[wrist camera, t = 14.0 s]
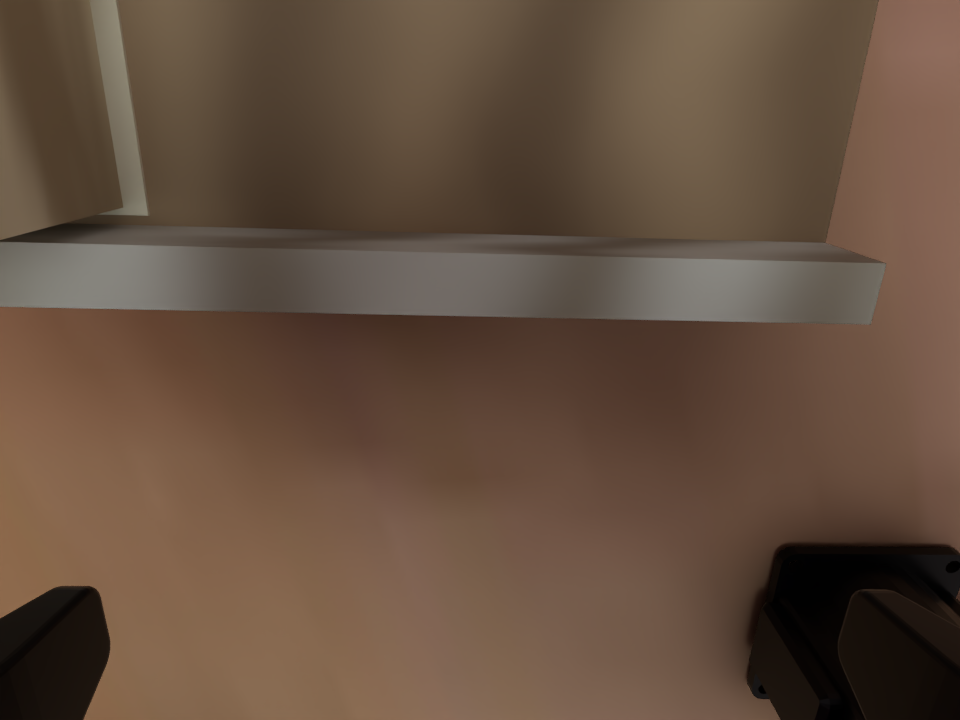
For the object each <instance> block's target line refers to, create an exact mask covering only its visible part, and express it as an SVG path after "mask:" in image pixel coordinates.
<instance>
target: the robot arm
mask: <svg viewBox="0 0 960 720" xmlns="http://www.w3.org/2000/svg"><path fill="white" fill-rule="evenodd" d="M794 560H796V562H794V563H793V564H790V562H792V561H794ZM789 564H790V565H789ZM959 588H960V553H959V552H958V551H957V550H955V549H954V548H949V547H801V546H792V547H787V548H785V549H783V550H781V551H780V552H779V553H778V554H777V557H776V559H775V563H774V568H773V572H772V576H771V580H770V585H769V589H768V593H767V598H766V602H765V604H764V605H763V607H762V608H761V611H760V616H759V620H758V624H757V629H756V633H755V637H754V642H753V646H752V650H751V655H750V663H751V666H750V670H749V675H748V679H747V684H748V686H749V688H750V690H751V692H752V694H753V695H754V696H755V697H757V698H760V699H770V701H771V703H772V704H773V706H774V708H775V710H776V712H777V714H778V716H779V717H780V719H781V720H960V602H959V601H958V600H957V599H956V596H957V594H958V591H959ZM109 653H110V637H109V633H108V628H107V624H106V619H105V615H104V610H103V606H102V601H101V597H100V594H99V592H98V591H97V590H96V589H95V588H93V587H90V586H60V587H56V588H53V589H51V590H49V591H48V592H46V593H44V594H42V595H41V596H39V597H37V598H35V599H34V600H32V601H30V602H28V603H27V604H25V605H23V606H21V607H20V608H18V609H16V610H14V611H13V612H11V613H9V614H7V615H6V616H4V617H2V618H0V720H83V719H84V717H85V714H86V712H87V710H88V707H89V705H90V702H91V700H92V698H93V695H94V693H95V691H96V688H97V686H98V683H99V681H100V679H101V676H102V674H103V672H104V669H105V667H106V664H107V661H108V658H109Z"/></svg>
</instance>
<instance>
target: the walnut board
mask: <svg viewBox="0 0 960 720" xmlns="http://www.w3.org/2000/svg"><path fill="white" fill-rule="evenodd" d="M878 1H879V0H90V6H91V12H92V18H93V24H94V30H95V36H96V43H97V49H98V55H99V61H100V67H101V73H102V79H103V86H104V92H105V98H106V104H107V110H108V116H109V122H110V129H111V135H112V141H113V147H114V153H115V159H116V165H117V172H118V178H119V184H120V190H121V196H122V202H123V208H120V209H116V210H112V211H108V212H104V213H101V214H97V215H93V216H89V217H85V218H82V219H78V220H74V221H70V222H67V223H63V224H59V225H55V226H51V227H48V228H44V229H40V230H36V231H32V232H29V233H25V234H21V235H17V236H14V237H10V238H6V239H2V240H0V307H41V308H90V309H139V310H187V311H236V312H285V313H333V314H382V315H431V316H479V317H528V318H577V319H625V320H674V321H723V322H771V323H820V324H869V325H871V321H872V317H873V314H874V310H875V306H876V302H877V298H878V294H879V290H880V286H881V282H882V279H883V275H884V271H885V267H886V263H883V262H880V261H877V260H875V259H872V258H869V257H866V256H863V255H860V254H857V253H854V252H851V251H848V250H845V249H842V248H839V247H836V246H833V245H830V244H827V243H825V242H826V237H827V233H828V228H829V224H830V219H831V215H832V210H833V206H834V201H835V196H836V192H837V187H838V183H839V178H840V174H841V169H842V165H843V160H844V156H845V151H846V147H847V142H848V137H849V133H850V128H851V124H852V119H853V115H854V110H855V106H856V101H857V97H858V92H859V88H860V83H861V79H862V74H863V69H864V65H865V60H866V56H867V51H868V47H869V42H870V38H871V33H872V29H873V24H874V20H875V15H876V10H877V6H878Z"/></svg>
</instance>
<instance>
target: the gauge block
mask: <svg viewBox="0 0 960 720" xmlns="http://www.w3.org/2000/svg"><path fill="white" fill-rule="evenodd" d="M120 208H123V202H122V196H121V190H120V184H119V178H118V172H117V165H116V159H115V153H114V147H113V141H112V135H111V129H110V122H109V116H108V110H107V104H106V98H105V92H104V86H103V79H102V73H101V67H100V61H99V55H98V49H97V43H96V36H95V30H94V24H93V18H92V12H91V6H90V0H0V240H2V239H6V238H10V237H14V236H17V235H21V234H25V233H29V232H32V231H36V230H40V229H44V228H48V227H51V226H55V225H59V224H63V223H67V222H70V221H74V220H78V219H82V218H85V217H89V216H93V215H97V214H101V213H104V212H108V211H112V210H116V209H120Z"/></svg>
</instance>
